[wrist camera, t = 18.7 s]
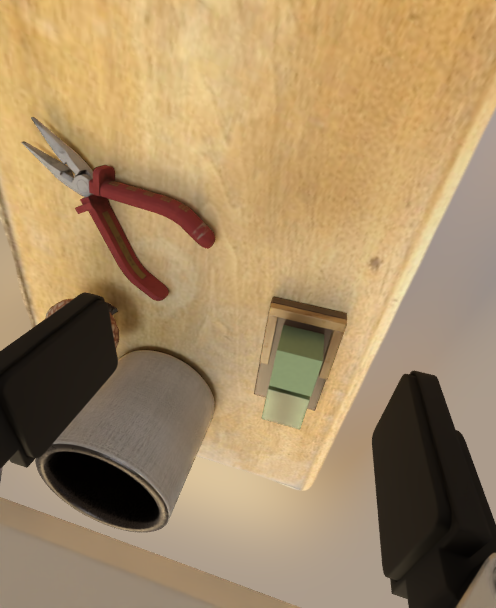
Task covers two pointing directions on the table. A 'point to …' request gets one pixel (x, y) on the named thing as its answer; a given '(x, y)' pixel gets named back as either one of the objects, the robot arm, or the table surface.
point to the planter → (132, 443)
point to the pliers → (96, 192)
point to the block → (297, 360)
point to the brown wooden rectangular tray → (278, 402)
